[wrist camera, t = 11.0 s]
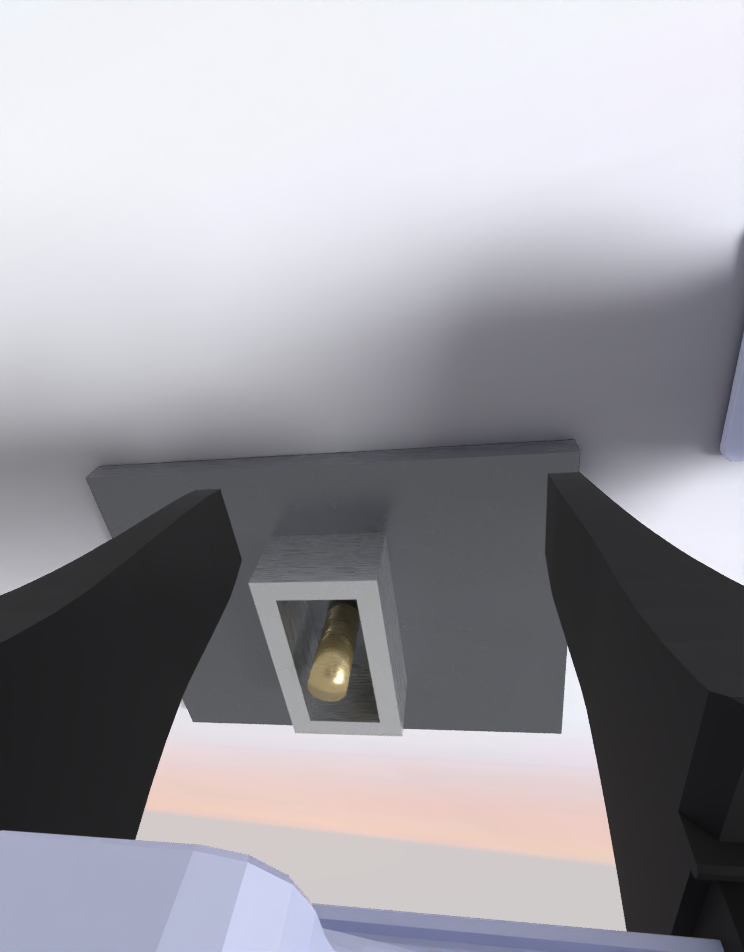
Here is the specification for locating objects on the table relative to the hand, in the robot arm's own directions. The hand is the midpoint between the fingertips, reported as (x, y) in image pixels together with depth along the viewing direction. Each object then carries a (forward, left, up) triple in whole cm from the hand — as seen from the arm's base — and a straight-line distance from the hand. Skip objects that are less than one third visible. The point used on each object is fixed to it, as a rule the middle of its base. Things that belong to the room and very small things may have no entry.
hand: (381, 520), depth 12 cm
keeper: (+4, +11, -9) cm, 15 cm away
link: (+4, +11, -8) cm, 14 cm away
